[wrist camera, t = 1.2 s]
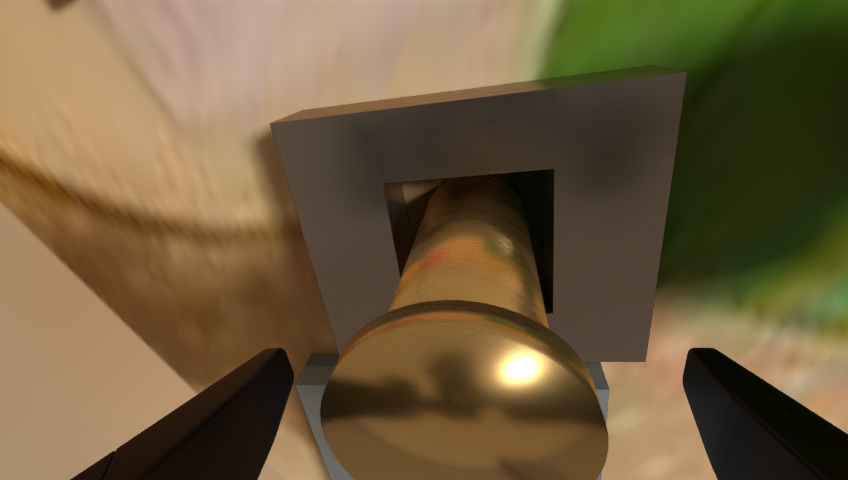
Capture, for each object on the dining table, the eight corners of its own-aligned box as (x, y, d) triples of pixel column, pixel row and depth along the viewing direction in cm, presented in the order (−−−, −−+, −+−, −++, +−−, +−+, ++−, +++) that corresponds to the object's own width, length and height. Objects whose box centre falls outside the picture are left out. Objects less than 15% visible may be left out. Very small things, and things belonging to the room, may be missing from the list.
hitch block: (652, 65, 13) (687, 71, 10) (625, 319, 17) (645, 361, 15) (302, 110, 15) (269, 123, 13) (358, 323, 19) (341, 360, 17)
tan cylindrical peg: (541, 150, 14) (621, 328, 6) (542, 274, 17) (599, 534, 8) (401, 164, 15) (286, 332, 7) (419, 278, 18) (352, 514, 9)
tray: (597, 355, 18) (609, 389, 16) (584, 530, 24) (592, 570, 22) (311, 355, 21) (294, 385, 19) (365, 513, 27) (356, 547, 25)
